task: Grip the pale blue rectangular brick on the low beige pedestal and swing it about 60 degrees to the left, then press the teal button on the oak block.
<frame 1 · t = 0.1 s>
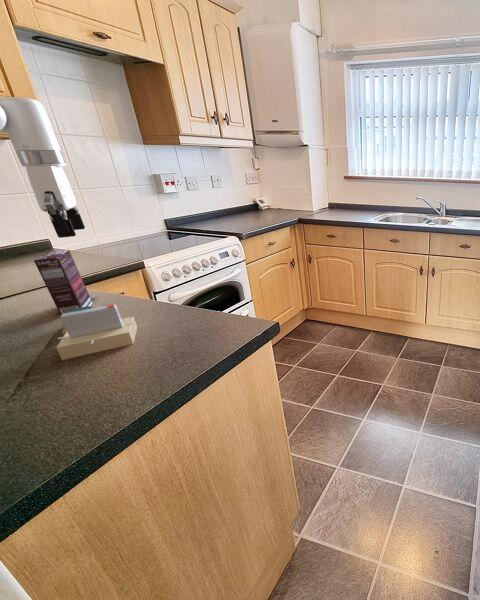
hand: (72, 232, 85), 21 cm above the table, tool pointing down, fingers open, 9 cm apart
supplement box: (78, 311, 91), on the table
low beige pedestal: (103, 342, 76), on the table
button block: (90, 327, 82), on the table
pale blue rectangular brick: (93, 320, 73), point 6 cm above the table, hinge at 0.0°
button: (84, 312, 81), point 4 cm above the table, slide at 0.1 cm
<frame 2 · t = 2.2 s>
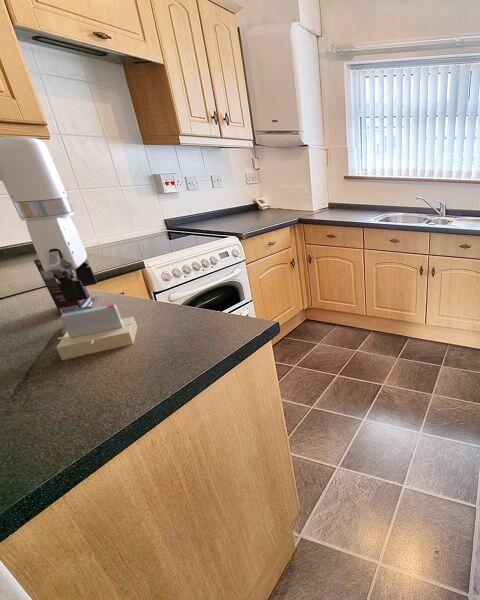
hand: (83, 292, 71), 12 cm above the table, tool pointing down, fingers open, 9 cm apart
nothing on the table moved.
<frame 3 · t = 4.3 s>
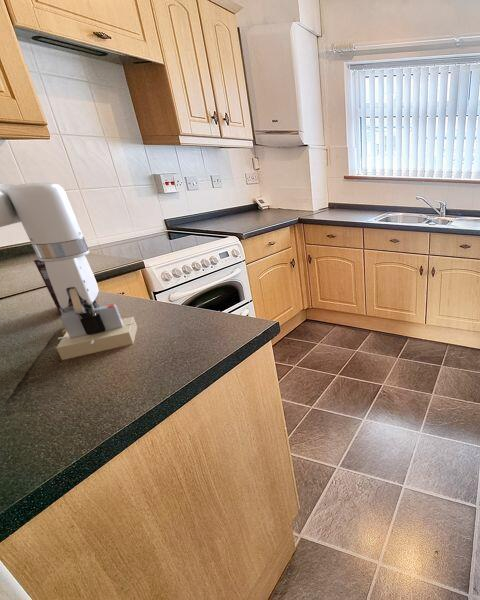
hand: (97, 329, 74), 3 cm above the table, tool pointing down, fingers closed on pale blue rectangular brick, 2 cm apart
pale blue rectangular brick: (93, 320, 73), point 6 cm above the table, hinge at 1.3°, touching gripper
everything else where it was.
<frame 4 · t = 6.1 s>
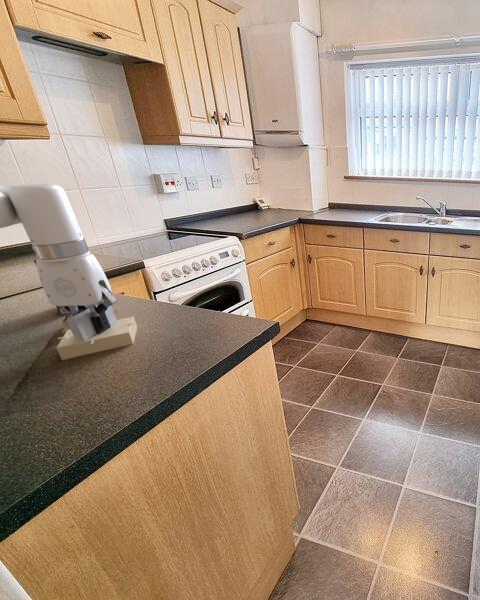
hand: (97, 330, 74), 3 cm above the table, tool pointing down, fingers closed on pale blue rectangular brick, 2 cm apart
pale blue rectangular brick: (93, 320, 73), point 6 cm above the table, hinge at 59.9°, touching gripper
everything else where it was.
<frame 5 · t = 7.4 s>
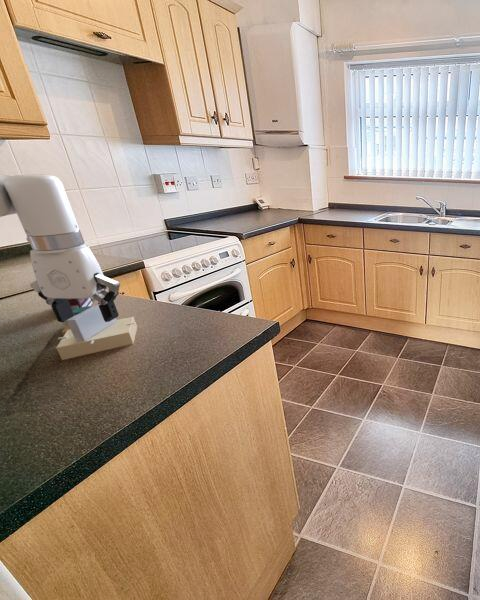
hand: (89, 319, 73), 6 cm above the table, tool pointing down, fingers open, 9 cm apart
pale blue rectangular brick: (93, 320, 73), point 6 cm above the table, hinge at 59.8°
everything else where it was.
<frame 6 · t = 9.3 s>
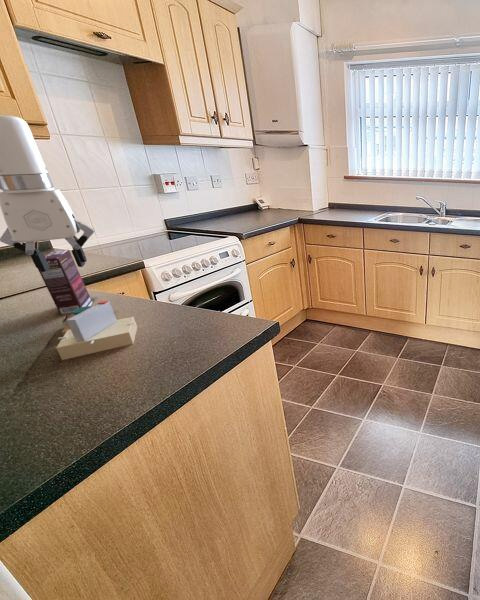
hand: (63, 267, 76), 15 cm above the table, tool pointing down, fingers open, 5 cm apart
nothing on the table moved.
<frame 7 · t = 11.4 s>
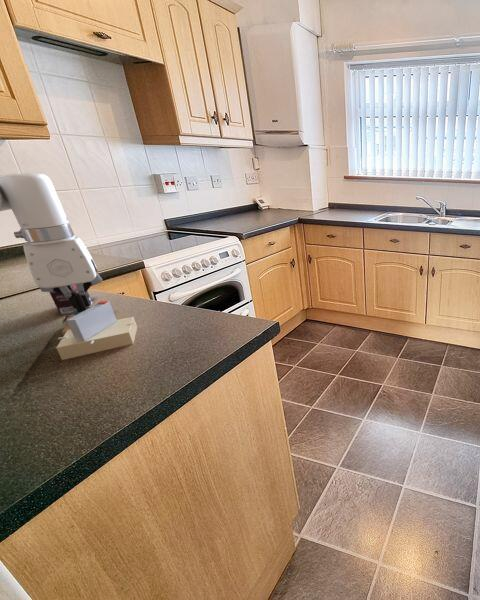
hand: (84, 309, 81), 5 cm above the table, tool pointing down, fingers closed
button: (84, 313, 81), point 4 cm above the table, slide at -0.1 cm, touching gripper
everything else where it was.
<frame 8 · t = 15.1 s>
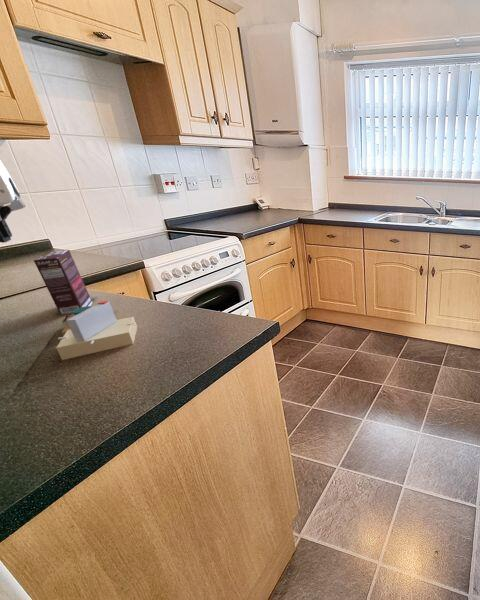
hand: (2, 241, 67), 23 cm above the table, tool pointing down, fingers closed
button: (84, 312, 81), point 4 cm above the table, slide at 0.1 cm
everything else where it was.
at the end: pale blue rectangular brick at +60° (first picture: +0°); button pushed in 1.1 cm at the most during the clip, back to where it started at the end; button slide at 0.1 cm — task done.
